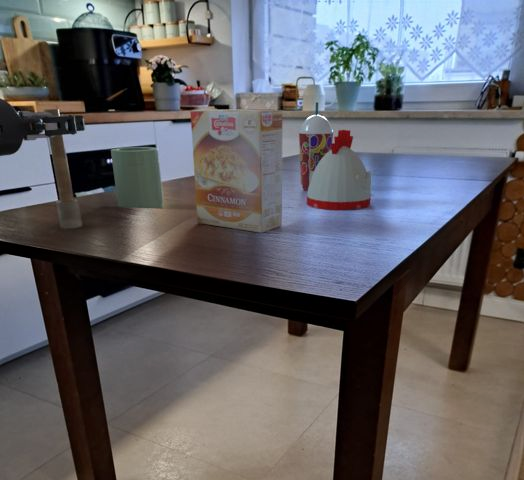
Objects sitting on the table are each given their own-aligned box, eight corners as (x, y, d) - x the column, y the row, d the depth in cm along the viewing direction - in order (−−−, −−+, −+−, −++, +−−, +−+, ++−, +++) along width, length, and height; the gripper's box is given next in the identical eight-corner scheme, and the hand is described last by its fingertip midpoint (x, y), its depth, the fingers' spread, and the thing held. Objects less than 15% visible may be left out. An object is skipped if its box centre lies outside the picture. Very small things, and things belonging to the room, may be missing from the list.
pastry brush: (58, 238, 88) (34, 109, 80) (69, 233, 92) (47, 109, 83) (76, 239, 88) (54, 109, 79) (88, 234, 91) (68, 109, 82)
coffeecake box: (196, 223, 98) (188, 109, 89) (219, 216, 103) (214, 108, 94) (261, 233, 90) (260, 110, 81) (283, 225, 95) (284, 109, 86)
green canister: (110, 212, 108) (102, 151, 103) (131, 203, 116) (124, 146, 111) (152, 213, 106) (146, 151, 101) (170, 205, 114) (165, 147, 109)
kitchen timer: (380, 202, 115) (387, 129, 108) (352, 212, 105) (357, 133, 99) (326, 196, 123) (329, 127, 116) (294, 205, 113) (296, 131, 106)
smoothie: (327, 192, 127) (331, 102, 118) (294, 191, 129) (295, 102, 120) (333, 187, 134) (337, 102, 125) (301, 186, 136) (303, 102, 127)
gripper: (-53, 156, 74) (34, 146, 88) (22, 159, 69) (102, 148, 82) (-68, 98, 71) (25, 97, 84) (9, 97, 66) (95, 96, 79)
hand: (63, 122), depth 83 cm, fingers open, 7 cm apart
